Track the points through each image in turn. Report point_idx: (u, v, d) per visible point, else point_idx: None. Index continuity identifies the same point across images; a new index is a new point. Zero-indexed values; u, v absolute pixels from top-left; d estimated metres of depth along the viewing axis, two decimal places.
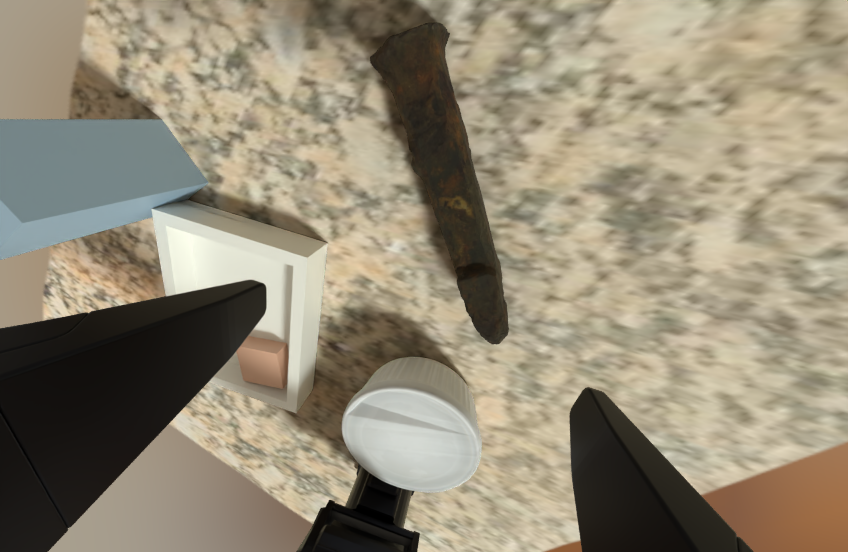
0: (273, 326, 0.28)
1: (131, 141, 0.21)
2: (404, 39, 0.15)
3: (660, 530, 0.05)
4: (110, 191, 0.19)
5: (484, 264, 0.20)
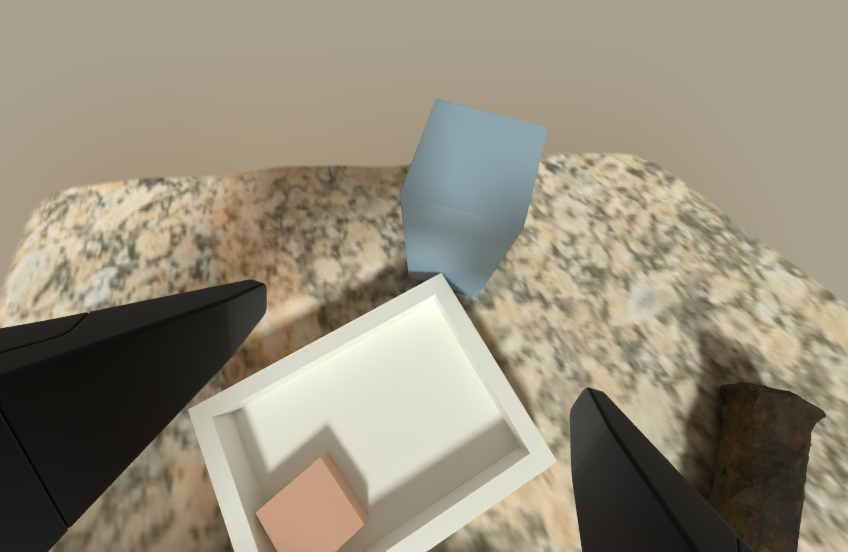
0: (379, 475, 0.19)
1: None
2: (805, 404, 0.18)
3: (660, 530, 0.05)
4: None
5: None
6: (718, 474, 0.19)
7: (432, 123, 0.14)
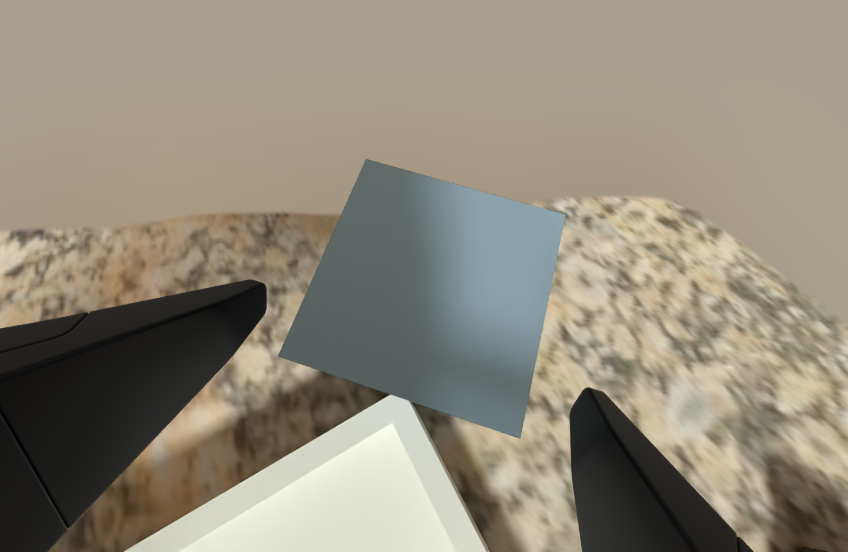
0: None
1: None
2: None
3: (660, 530, 0.05)
4: None
5: None
6: None
7: (355, 207, 0.08)
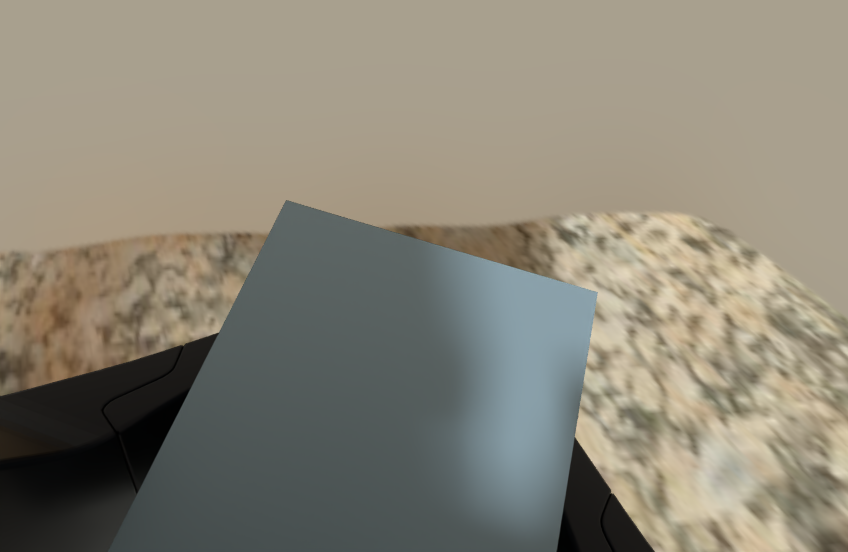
0: None
1: None
2: None
3: None
4: None
5: None
6: None
7: (262, 280, 0.05)
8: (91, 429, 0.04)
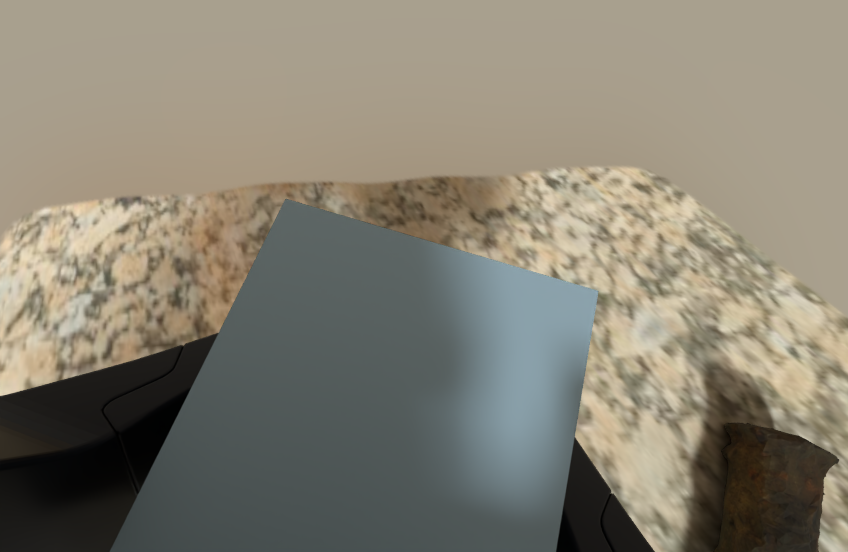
0: None
1: None
2: (816, 451, 0.17)
3: None
4: None
5: None
6: (725, 524, 0.18)
7: (262, 279, 0.05)
8: (92, 428, 0.04)
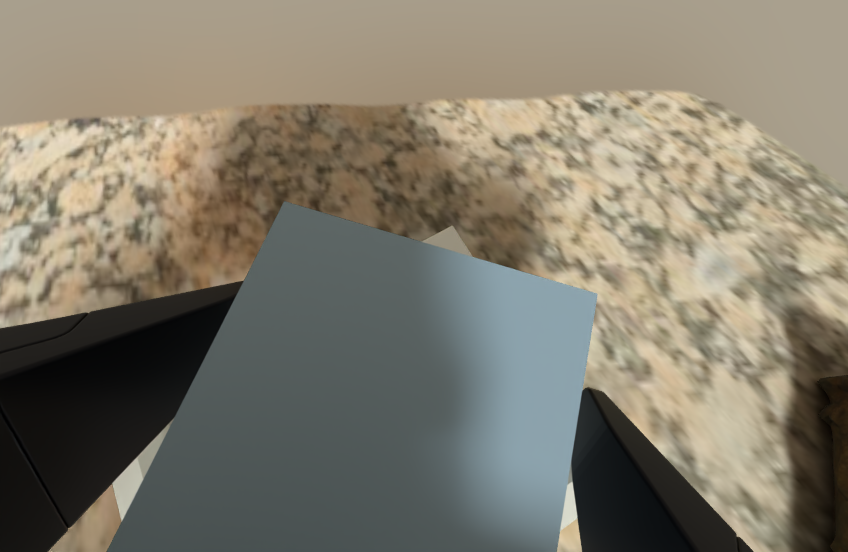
0: None
1: None
2: None
3: (660, 530, 0.05)
4: None
5: None
6: (845, 506, 0.13)
7: (260, 282, 0.05)
8: None
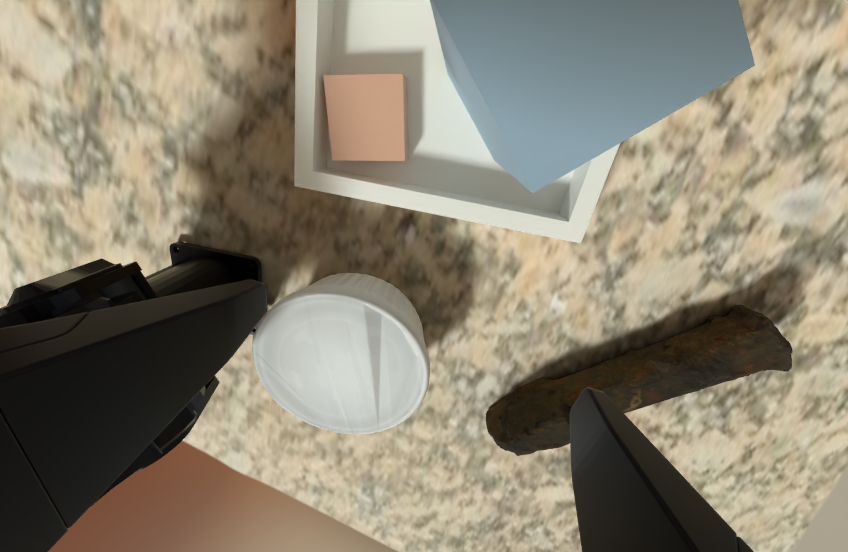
0: (436, 138, 0.18)
1: None
2: (786, 357, 0.19)
3: (660, 530, 0.05)
4: None
5: None
6: (658, 345, 0.22)
7: None
8: None
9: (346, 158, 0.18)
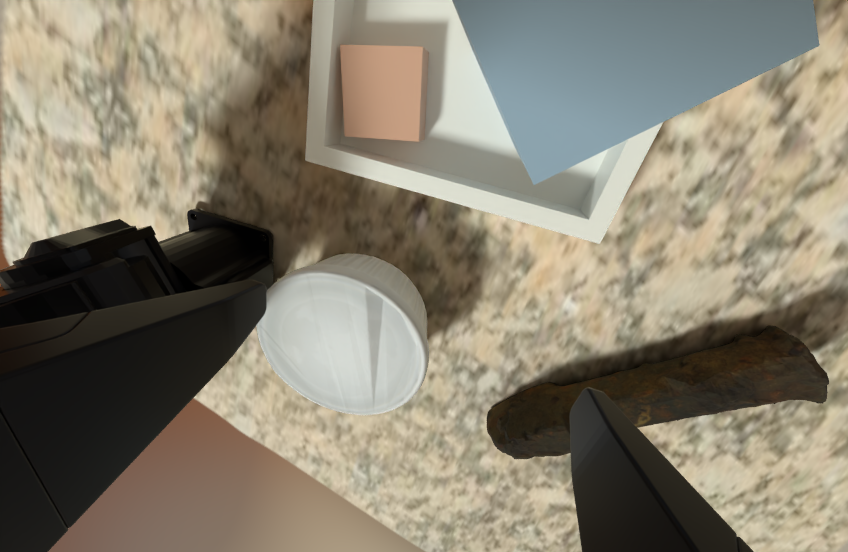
0: (455, 119, 0.17)
1: None
2: (821, 388, 0.17)
3: (660, 530, 0.05)
4: None
5: None
6: (676, 361, 0.20)
7: None
8: None
9: (359, 135, 0.17)
